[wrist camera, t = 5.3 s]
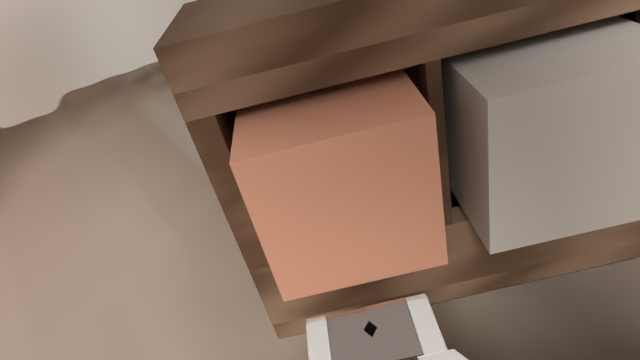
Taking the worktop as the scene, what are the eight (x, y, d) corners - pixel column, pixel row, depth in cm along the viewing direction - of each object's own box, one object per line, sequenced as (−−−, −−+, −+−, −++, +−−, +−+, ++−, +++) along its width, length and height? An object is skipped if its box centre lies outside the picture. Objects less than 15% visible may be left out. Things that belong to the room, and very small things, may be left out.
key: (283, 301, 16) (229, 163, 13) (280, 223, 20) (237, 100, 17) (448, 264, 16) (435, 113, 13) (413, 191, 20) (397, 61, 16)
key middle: (489, 254, 16) (487, 100, 13) (447, 184, 20) (437, 51, 16) (660, 215, 16) (704, 48, 12) (585, 151, 20) (602, 9, 16)
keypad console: (278, 338, 21) (143, 25, 13) (276, 251, 26) (177, -14, 18) (800, 220, 20) (1002, -197, 12) (694, 153, 25) (787, -174, 17)
